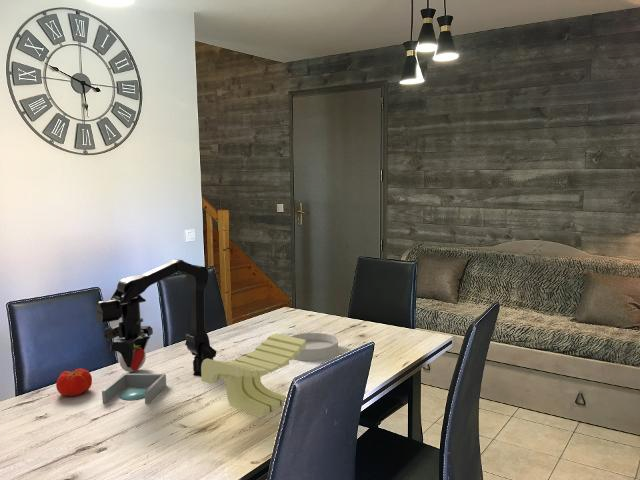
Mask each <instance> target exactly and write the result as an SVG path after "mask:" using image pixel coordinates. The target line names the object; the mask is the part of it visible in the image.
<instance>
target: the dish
mask: <svg viewBox="0 0 640 480" xmlns="http://www.w3.org/2000/svg"><path fill="white" fill-rule="evenodd" d="M289 336H290V335H289ZM290 337H295V338H299V339H304V340H306V348H305V349H303V350H301V349H300V354H298V355H295V359H293V360H295V361H299V362H320V361H326V360H330V359H333V358H334V357H335V356H338V354H339V350H340V349H339V340H338V337H336V336H335V335H331V334H327V333H321V332H306V333H298V334H295V335H294V334H293V335H291V336H290Z"/></svg>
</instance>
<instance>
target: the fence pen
mask: <svg viewBox="0 0 640 480" xmlns="http://www.w3.org/2000/svg"><path fill="white" fill-rule="evenodd" d="M166 386H167V374H166V373H122V374H121V375H120V376H119V377H117V378H116V379H115V380H113V381H112V382H111V383H110V384H109V385H107V386H106V387H105V388H103V389H102V390H101V396H102V403H103V404H106V403H108V402H109V401H110V400H112V399H113V398H114V396H116V395H117V394H118V393H119V392H120V394H119V398H120V399H121V400H124V401H135V400H140V399H144V404H145V405H148V404H150V403H151V402H152V401H153V400H154V399H155V398H156V397H157V396H158V394H159V393H160V392H161V391H162V390H163V389H165V387H166ZM125 387H131V388H128V389H125V390H123V389H124V388H125ZM122 390H123V391H122ZM121 391H122V392H121Z"/></svg>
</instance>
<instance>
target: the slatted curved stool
mask: <svg viewBox="0 0 640 480" xmlns="http://www.w3.org/2000/svg"><path fill="white" fill-rule="evenodd" d="M305 348H306V340H304V339H299V338H295V337H290V335H284V334H280V333H273V334H271V335H270V336H268V337H267V338H266V339H265V340H264V341H262V342H261V344H260V345H258V346H256V348H255V349H254V350H253V351H250V352H248V353H247V354H245V356H244V355H243V356H240V357H237V358H234V359H231V360H227V361H226V360H225V361H224V360H215V359H213V360H211V359H208V358H207V359H205V360H204V361H203V362H202V365H201V375H200V376H201V382H204V383H208V384H210V385H213V384H214V383H215V382H217V379H218V380H222V379H223V381H224V383H225V387H226V394H227V395H226V396H227V401H228V403H229V405H230V407H232V408H235V409H238V410H241V411H243V412H247V413H249V414H251V415H255V416H257V417H260V418H262V417H264V416H266V415H268V414H270V413H271V412H274V411H275V410H277V409H279V408H280V407H281V406H285V405H284V402H285V399H286V395H283V394H280V393H278V392H275V391H273V390H271V389H269V388H268V387H266V386H265V385H264V384H263V383H262V382H261V378H262V377H264V376H266V375H268V374H269V373H272V372H275V371H277V370H279V369H280V368H281V369H282V368H284V367H286V366H288V365H290V361H293V360H294V359H295V355H298V354H300V349H301V350H303V349H305Z"/></svg>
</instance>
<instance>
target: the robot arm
mask: <svg viewBox="0 0 640 480" xmlns="http://www.w3.org/2000/svg"><path fill="white" fill-rule="evenodd" d="M177 273H180V274H183V275H184V276H185V278H186V279H185V280H186V283H187V286H188V288H189V290H190V324H191V325H190V327H191V328H190V330H189V333H188V334H187V333H186V334H185V336H184V337H185V344H184V345H185V346H186V348H187V350H188V351H189V352H190V353H191V355H192V356H193V360H192V367H193V368H192V371H193V373H192V374H193V376H202V375H201V365H202V362H203V361H204V360H205V359H207V358H208V359H211V360H214V358H216V355H217V350H215V349H214V348H213V347H212V346H211V344H210V338H209V335H208V332H207V331H206V321H205V320H206V318H205V317H206V314H205V313H206V312H205V311H206V310H205V306H206V305H205V302H206V301H205V289H206V287H207V285H208V283H209V277H210V272H209V269H208V268H207V267H206V266H202V265H197V264H191V263H189V262H186V261H184V260H183V259H180V258H179V259H177V258H174V259H172V260H171V261H169V262H166V263H164V264H162V265H160V266H158V267H156V268H153V269H151V270H149V271H147V272H145V273H142V274H137V275H132V276H127V277H124V278H122V279H120V280H118V283H117V285H116V290H115V291H114V293H112V294H113V295H112V296H111V297H110V300H105V301H104V300H102V301H101V300H100V301H98V302H97V306H96V309H95V317H96V321H97V323H98V324H105V323H110V322H116V321H119V320H120V319H121V321H119V323H118V324H117V325H115V326H113V327H112V326H109V327H106V328H104V329H103V338H105V339H106V340H107V341H111V340H112V339H115V338H116V339H115V340H114V341H112V343H110V344H109V345H110V351H111V352H118V353H119V354H120V356H121V355H122V357H123V359H124V361H125V363H126V365H127V367H128V368H130V367H131V365H132V362H133V358H134V354H135V349H136V347H134V345H135V346H137V345H141V346H138V347H141V348H142V349H143V350H144V351H145V350H146V347H147V345H148V342H149V340H150V338H151V335H153V333H154V331H153V329H154V328H152V327H151V325H142V324H141V323H142V322H144V318H142V317H141V307H140V306H141V305H140V303H145V302H146V301H147V300H146V299H145V298H144V297H142V295H141V294H143V293H145V291H146V290H147V289H148V288H149V287H151V286H152V285H154V284H156V283H158V282H160V281H162V280H165V279H166V278H168V277H170V276H172V275H175V274H177Z"/></svg>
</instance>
